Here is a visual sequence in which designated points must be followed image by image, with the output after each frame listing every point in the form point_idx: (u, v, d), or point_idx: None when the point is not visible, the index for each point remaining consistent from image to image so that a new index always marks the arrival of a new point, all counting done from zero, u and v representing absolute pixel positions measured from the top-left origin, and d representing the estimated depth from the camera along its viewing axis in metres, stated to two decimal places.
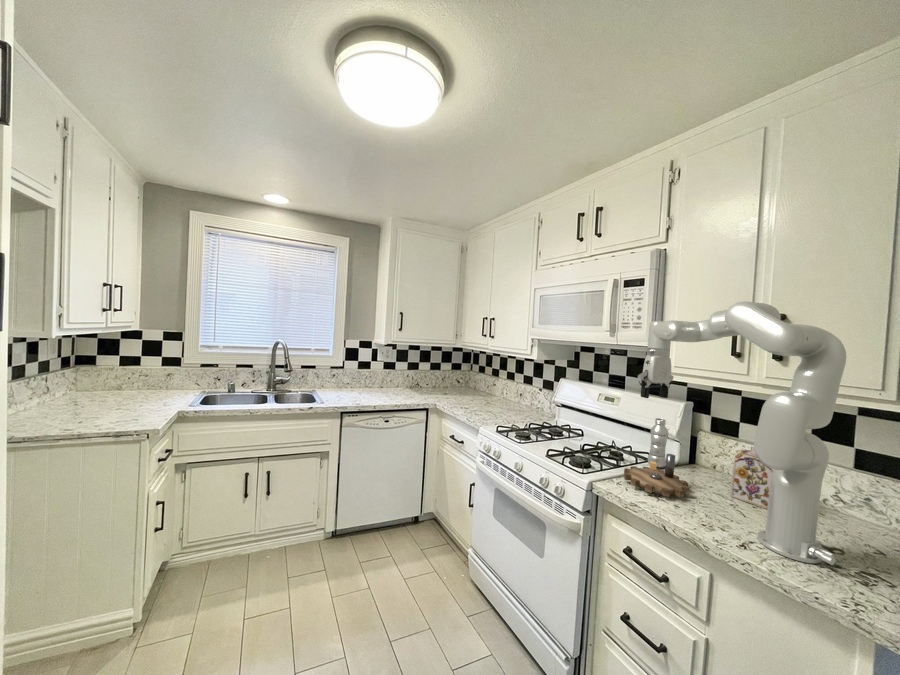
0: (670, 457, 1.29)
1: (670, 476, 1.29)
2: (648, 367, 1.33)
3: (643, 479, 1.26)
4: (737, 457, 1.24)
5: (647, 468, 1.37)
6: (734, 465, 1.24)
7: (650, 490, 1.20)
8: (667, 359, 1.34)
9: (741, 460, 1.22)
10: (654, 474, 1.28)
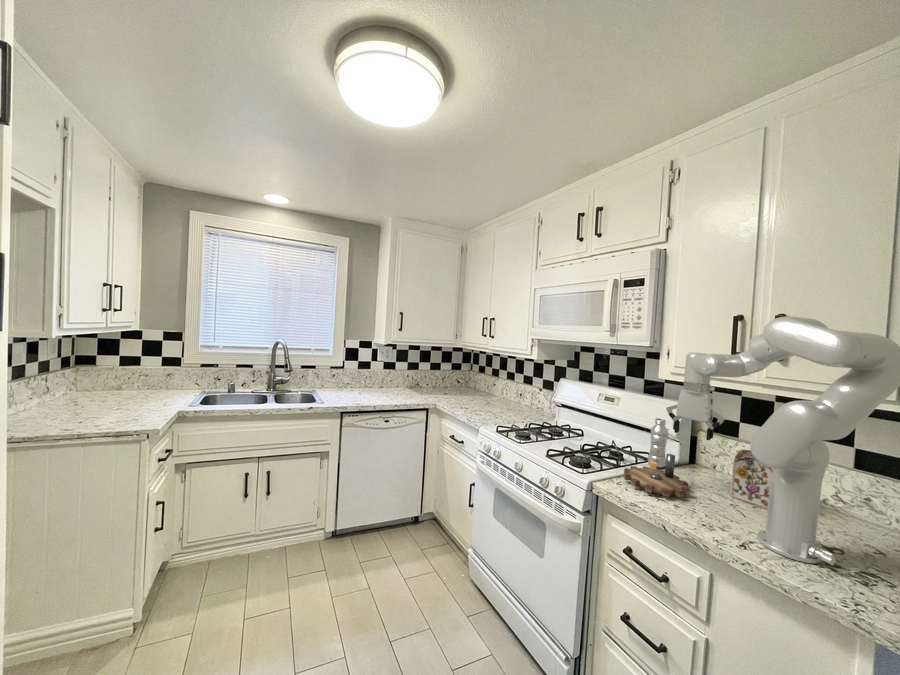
0: (670, 457, 1.29)
1: (670, 476, 1.29)
2: (712, 406, 1.21)
3: (643, 479, 1.26)
4: (737, 457, 1.24)
5: (647, 468, 1.37)
6: (734, 465, 1.24)
7: (650, 490, 1.20)
8: None
9: (741, 460, 1.22)
10: (654, 474, 1.28)
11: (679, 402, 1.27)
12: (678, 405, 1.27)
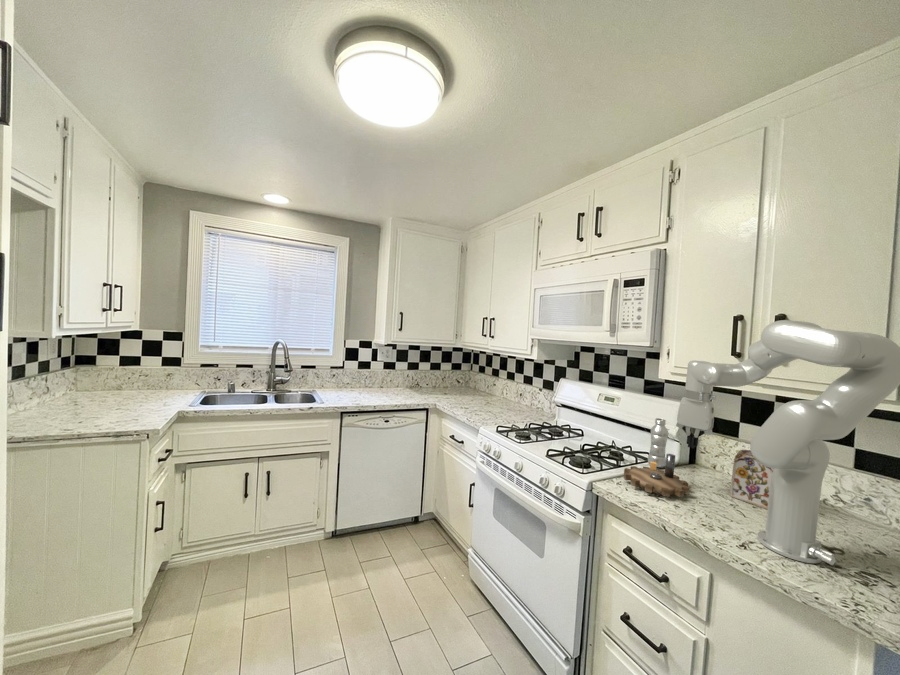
0: (670, 457, 1.29)
1: (670, 476, 1.29)
2: (713, 414, 1.21)
3: (643, 479, 1.26)
4: (737, 457, 1.24)
5: (647, 468, 1.37)
6: (734, 465, 1.24)
7: (650, 490, 1.20)
8: None
9: (741, 460, 1.22)
10: (654, 474, 1.28)
11: (680, 410, 1.26)
12: (679, 413, 1.27)
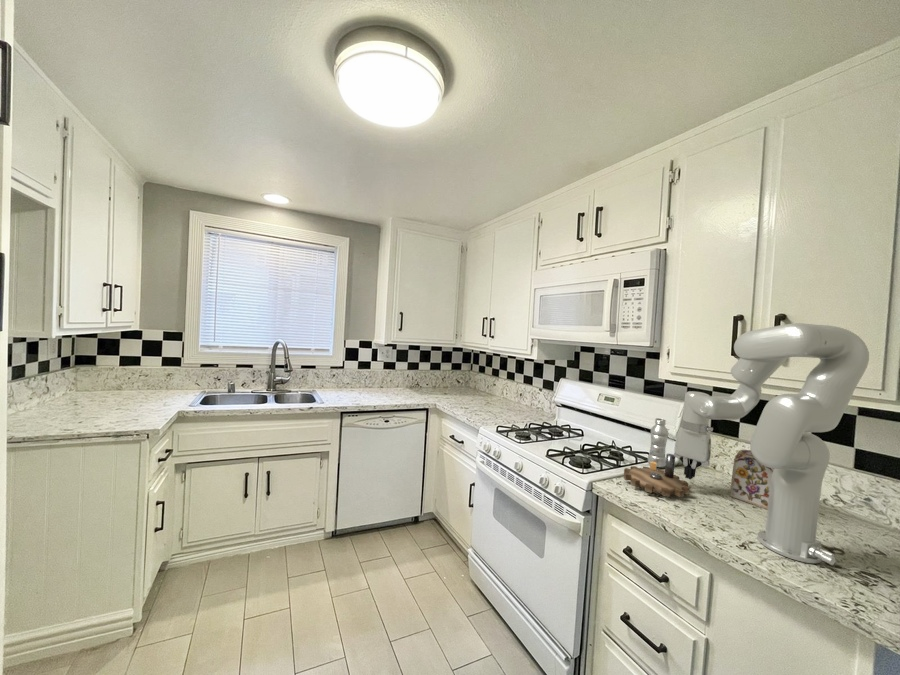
0: (670, 457, 1.29)
1: (670, 476, 1.29)
2: (710, 446, 1.22)
3: (643, 479, 1.26)
4: (737, 457, 1.24)
5: (647, 468, 1.37)
6: (734, 465, 1.24)
7: (650, 490, 1.20)
8: None
9: (741, 460, 1.22)
10: (654, 474, 1.28)
11: (677, 440, 1.27)
12: (676, 443, 1.27)
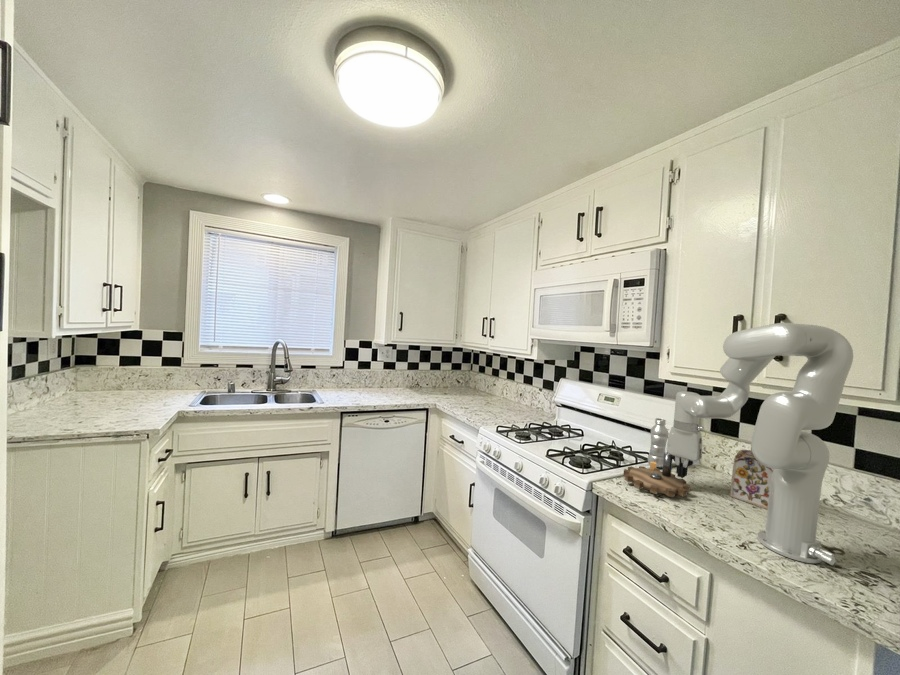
0: (668, 456, 1.30)
1: (668, 475, 1.30)
2: (701, 445, 1.24)
3: (646, 480, 1.25)
4: (737, 457, 1.24)
5: (643, 468, 1.37)
6: (734, 465, 1.24)
7: (655, 491, 1.19)
8: None
9: (741, 460, 1.22)
10: (654, 474, 1.28)
11: (669, 439, 1.29)
12: (668, 442, 1.29)
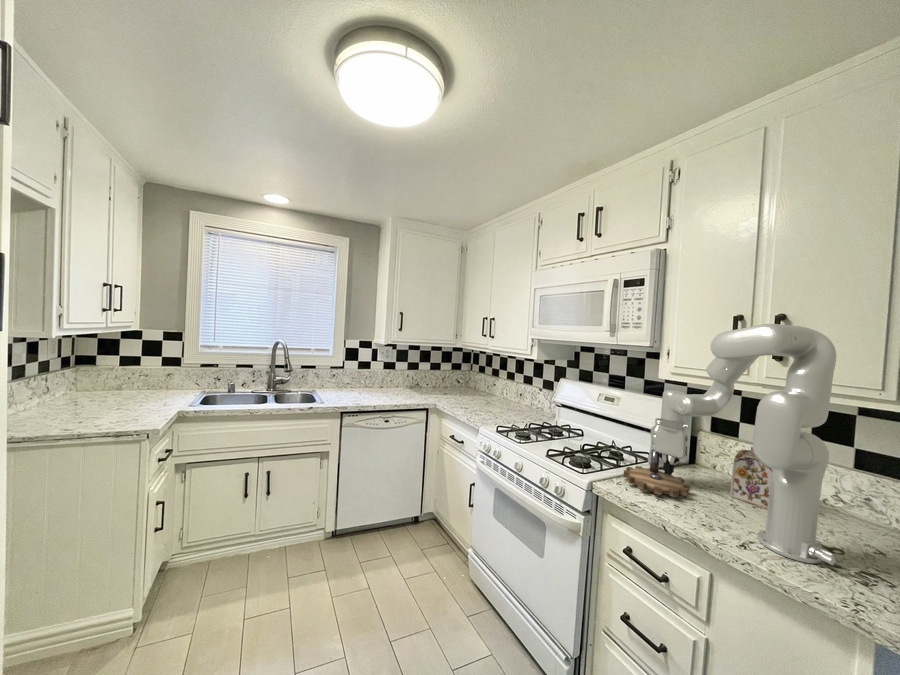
0: (658, 453, 1.32)
1: (657, 471, 1.33)
2: (687, 442, 1.27)
3: (658, 483, 1.23)
4: (737, 457, 1.24)
5: (632, 468, 1.35)
6: (734, 465, 1.24)
7: (677, 494, 1.18)
8: None
9: (741, 460, 1.22)
10: (654, 474, 1.28)
11: (656, 437, 1.32)
12: (655, 440, 1.32)
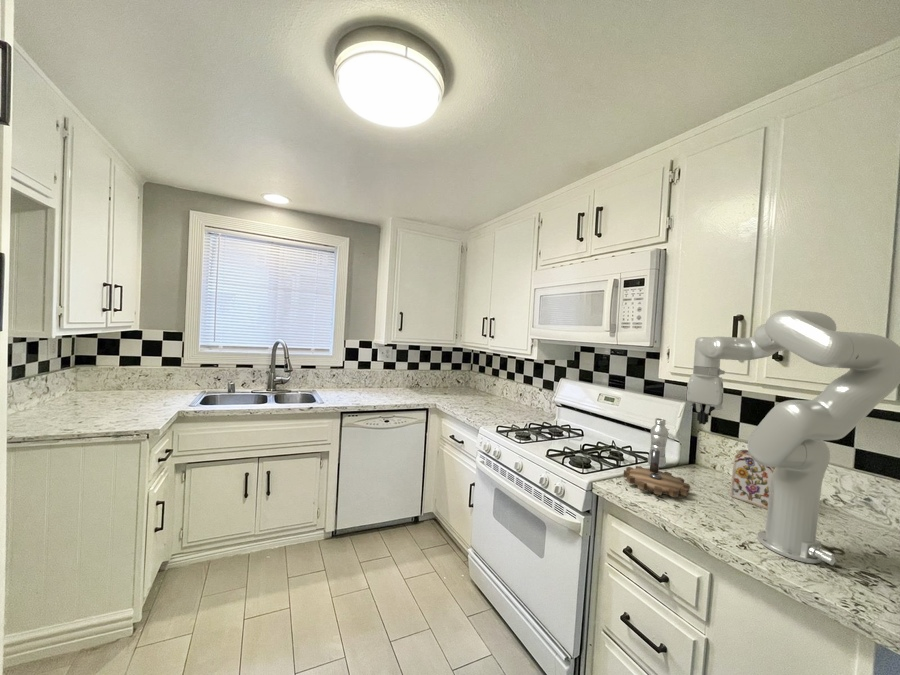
0: (658, 453, 1.32)
1: (657, 471, 1.33)
2: (722, 389, 1.22)
3: (658, 483, 1.23)
4: (737, 457, 1.24)
5: (631, 468, 1.35)
6: (734, 465, 1.24)
7: (677, 494, 1.18)
8: None
9: (741, 460, 1.22)
10: (654, 474, 1.28)
11: (689, 387, 1.27)
12: (688, 390, 1.27)
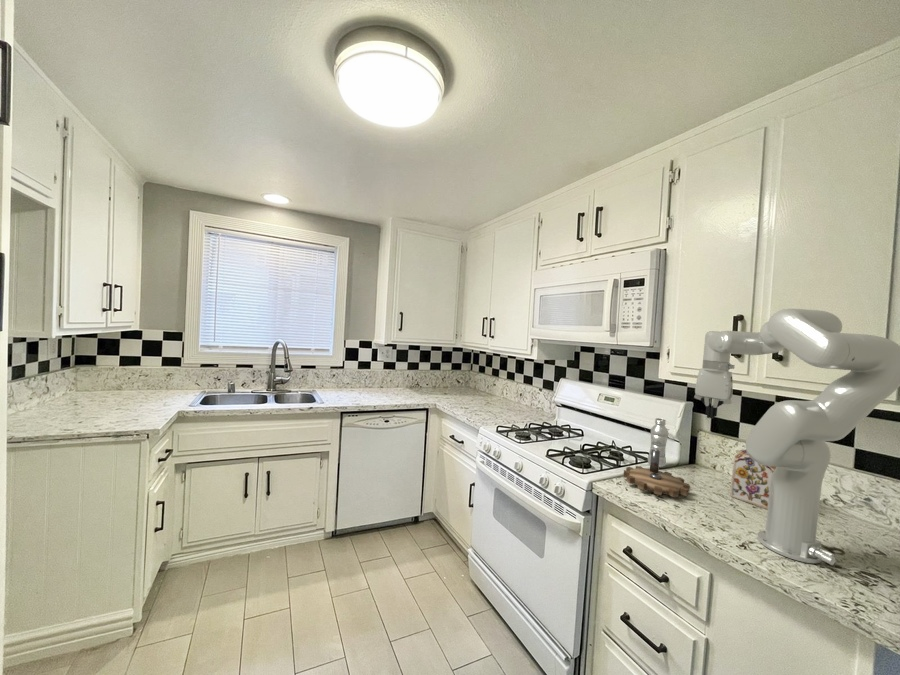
0: (658, 453, 1.32)
1: (657, 471, 1.33)
2: (732, 384, 1.22)
3: (658, 483, 1.23)
4: (737, 457, 1.24)
5: (631, 468, 1.35)
6: (734, 465, 1.24)
7: (677, 494, 1.18)
8: None
9: (741, 460, 1.22)
10: (654, 474, 1.28)
11: (698, 381, 1.27)
12: (697, 384, 1.27)
